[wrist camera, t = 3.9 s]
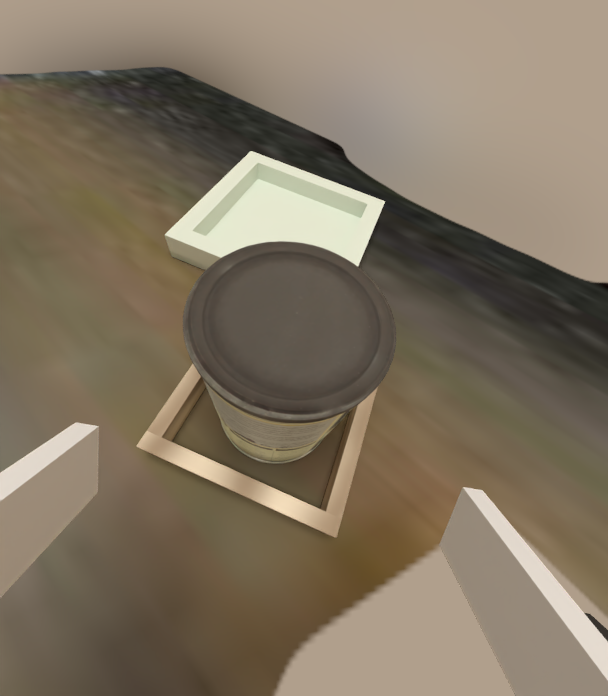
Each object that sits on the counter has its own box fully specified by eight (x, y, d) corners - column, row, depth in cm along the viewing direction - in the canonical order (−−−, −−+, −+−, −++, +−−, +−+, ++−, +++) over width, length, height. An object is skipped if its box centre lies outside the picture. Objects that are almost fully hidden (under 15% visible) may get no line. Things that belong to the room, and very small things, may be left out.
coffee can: (220, 355, 28) (192, 234, 15) (324, 353, 29) (372, 243, 17) (215, 471, 23) (167, 427, 10) (340, 460, 24) (424, 412, 12)
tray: (171, 256, 33) (164, 234, 30) (251, 172, 43) (251, 150, 40) (334, 323, 31) (341, 306, 29) (376, 220, 41) (385, 201, 39)
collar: (147, 452, 23) (136, 446, 20) (240, 311, 30) (238, 296, 28) (328, 535, 22) (336, 538, 19) (376, 368, 29) (385, 356, 27)
